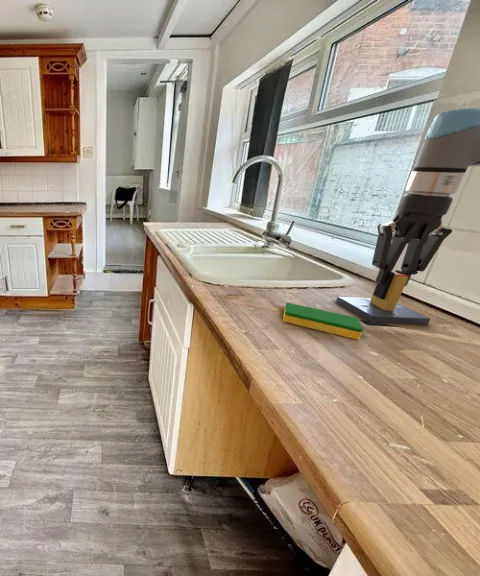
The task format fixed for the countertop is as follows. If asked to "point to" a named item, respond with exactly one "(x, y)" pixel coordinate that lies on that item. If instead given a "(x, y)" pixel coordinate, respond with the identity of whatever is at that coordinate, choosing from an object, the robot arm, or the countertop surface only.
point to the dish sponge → (323, 320)
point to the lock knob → (391, 293)
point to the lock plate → (381, 312)
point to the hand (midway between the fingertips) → (384, 297)
